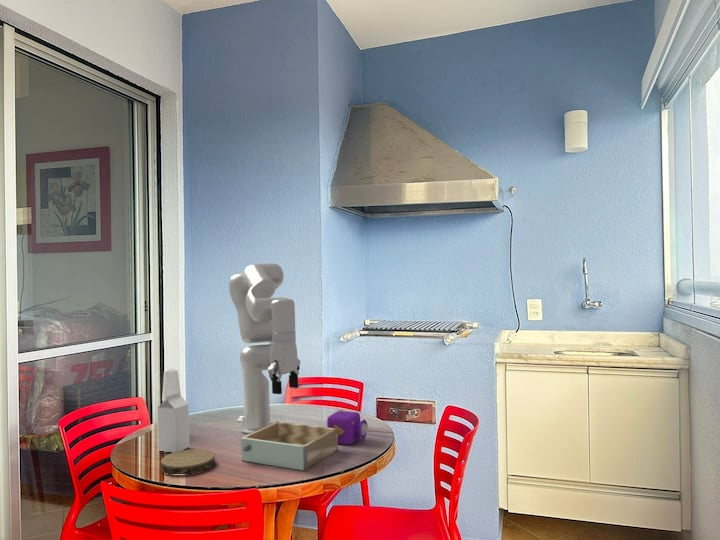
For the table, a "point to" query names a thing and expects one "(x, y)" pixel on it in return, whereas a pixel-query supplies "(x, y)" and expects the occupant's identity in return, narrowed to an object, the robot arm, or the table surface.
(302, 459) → the door
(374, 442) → the table surface
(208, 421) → the table surface
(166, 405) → the milk carton
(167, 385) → the grey tall block
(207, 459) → the brown round disc
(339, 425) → the toy camera
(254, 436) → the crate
